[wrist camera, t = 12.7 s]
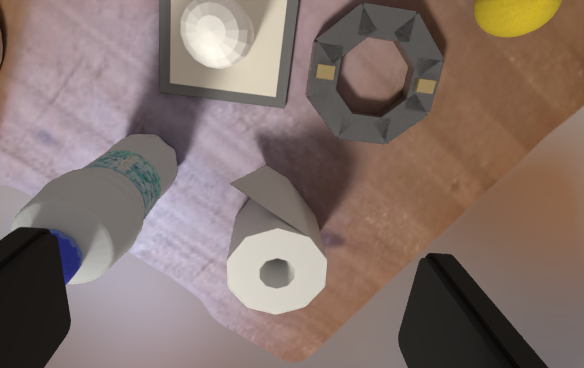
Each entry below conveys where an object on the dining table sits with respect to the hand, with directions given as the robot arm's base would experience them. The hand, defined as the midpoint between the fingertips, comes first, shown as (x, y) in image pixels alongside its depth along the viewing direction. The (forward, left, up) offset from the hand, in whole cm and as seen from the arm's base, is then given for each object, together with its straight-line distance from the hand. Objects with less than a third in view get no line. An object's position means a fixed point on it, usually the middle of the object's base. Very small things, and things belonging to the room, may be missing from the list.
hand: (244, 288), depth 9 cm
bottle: (-11, -7, -28) cm, 31 cm away
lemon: (+19, +12, -28) cm, 36 cm away
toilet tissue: (+2, -12, -28) cm, 31 cm away
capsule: (-4, +6, -27) cm, 28 cm away
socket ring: (+10, +4, -28) cm, 30 cm away
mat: (-4, +6, -28) cm, 29 cm away
